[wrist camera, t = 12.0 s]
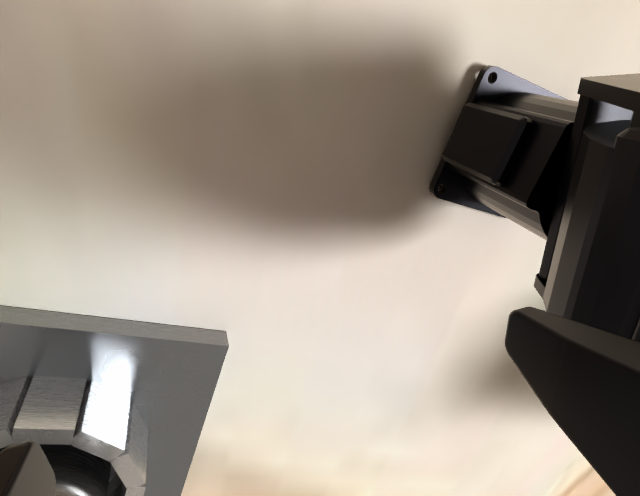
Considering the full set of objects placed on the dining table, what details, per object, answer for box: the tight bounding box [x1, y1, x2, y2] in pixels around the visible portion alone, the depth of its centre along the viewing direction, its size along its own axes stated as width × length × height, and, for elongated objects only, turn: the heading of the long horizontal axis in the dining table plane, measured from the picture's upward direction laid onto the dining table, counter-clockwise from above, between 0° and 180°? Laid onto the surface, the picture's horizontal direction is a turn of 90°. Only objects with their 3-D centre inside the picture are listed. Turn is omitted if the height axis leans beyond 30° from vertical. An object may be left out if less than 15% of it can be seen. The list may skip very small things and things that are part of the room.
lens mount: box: [0, 306, 229, 496], centre depth 21 cm, size 14×14×4 cm
